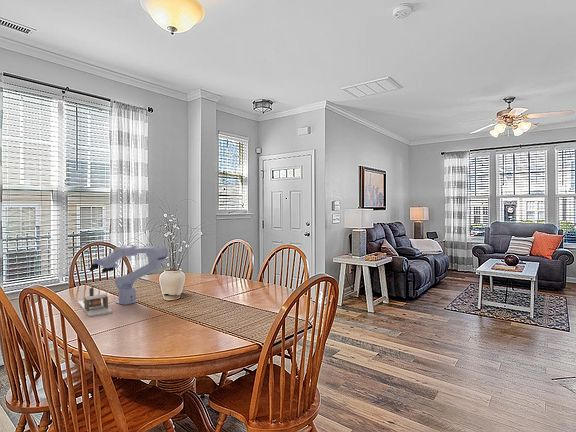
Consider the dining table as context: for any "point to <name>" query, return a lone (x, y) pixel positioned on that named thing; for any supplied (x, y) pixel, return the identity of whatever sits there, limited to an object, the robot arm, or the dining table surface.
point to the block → (95, 302)
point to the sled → (90, 300)
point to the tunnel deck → (95, 312)
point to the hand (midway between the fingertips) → (96, 270)
